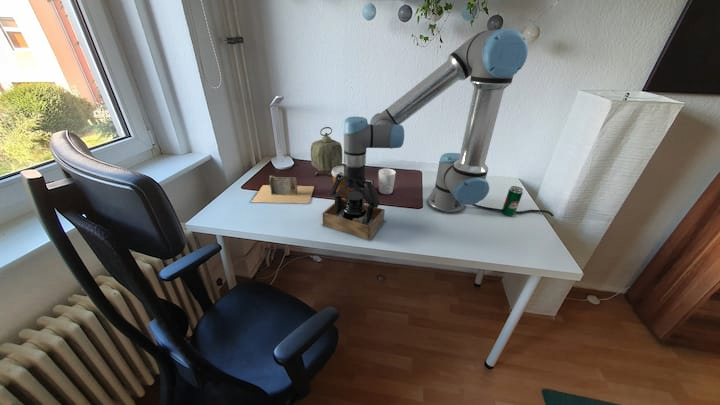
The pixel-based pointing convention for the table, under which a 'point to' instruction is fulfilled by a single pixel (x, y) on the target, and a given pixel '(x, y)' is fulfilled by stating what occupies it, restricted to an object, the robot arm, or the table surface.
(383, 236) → the table surface
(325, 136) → the tabletop clock
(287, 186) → the architectural model on board
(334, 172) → the disposable coffee cup
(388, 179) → the white cup
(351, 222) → the wooden box
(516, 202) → the soda can
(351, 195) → the ink bottle
